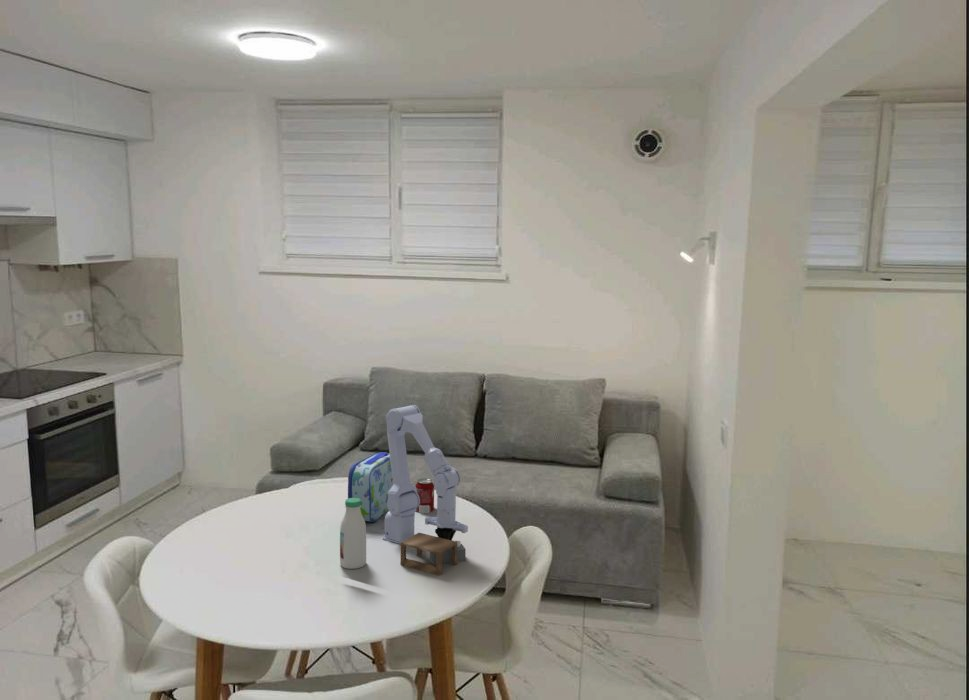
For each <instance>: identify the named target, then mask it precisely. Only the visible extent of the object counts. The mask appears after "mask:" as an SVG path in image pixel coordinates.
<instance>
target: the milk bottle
mask: <svg viewBox="0 0 969 700" xmlns="http://www.w3.org/2000/svg"><path fill="white" fill-rule="evenodd" d="M344 504H345V513H344V516H343V518H342V520H341V523H340V529H339V531H340V532H339V563H340V566H341V568H344V569H348V570H355V569H359V568H363V567H365V566H366V564H367V527H366V526H367V525H366V521H365V520H364V518H363V516H362V514H361V510H360V507H361V500H360V499H359V498H349V499H348V498H347V499H345V502H344Z"/></svg>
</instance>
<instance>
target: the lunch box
mask: <svg viewBox="0 0 969 700" xmlns="http://www.w3.org/2000/svg"><path fill="white" fill-rule="evenodd" d="M347 476H348V477H347V499H349V498H359V499H360V500H361V507H360V510H361V514H362V516H363V518H364V520H365V522H369V523H371V522H372V523H373V522H376V521H378V520H379V519H381V518H382V516H384V515H386V514H387V512H388V511H389V510H388V507H387V500H388V491H389V490H390V489H391V487H392V486H393V477H392V469H391V461H390V453H388V452H387V451H385V452H384V451H383V452H382V451H381V452H380V451H379V452H376V453H373V454H371V455H369V456H367V457H365V458H363V459H362V460H359V461H357V462H355V463H353V464H352V465H351V466H350V468H349V471H348V475H347Z"/></svg>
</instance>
